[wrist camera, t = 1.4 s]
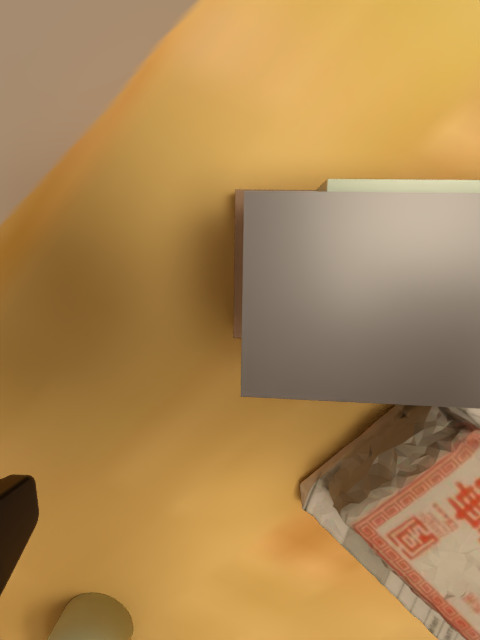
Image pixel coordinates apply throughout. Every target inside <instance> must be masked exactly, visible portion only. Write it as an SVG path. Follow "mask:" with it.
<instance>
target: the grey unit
mask: <svg viewBox="0 0 480 640" xmlns="http://www.w3.org/2000/svg"><path fill="white" fill-rule="evenodd" d="M234 338H242V355H241V397H260V398H279V399H299V400H319V401H338V402H358V403H378V404H398V405H417V406H437V407H457V408H476V409H480V180H402V179H327V180H326V181H325V182H324V183H323V184H322V185H321V186H320V187H319V188H318V189H317V190H235V260H234Z"/></svg>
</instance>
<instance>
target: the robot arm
mask: <svg viewBox="0 0 480 640" xmlns="http://www.w3.org/2000/svg"><path fill="white" fill-rule="evenodd" d="M38 517H39V508H38V499H37V491H36V483H35V480H34V478H33V477H32V476H30V475H15V474H14V475H9V476H7V477H5V478H2V479H0V595H1V594H2V592H3V590H4V588H5V586H6V584H7V582H8V580H9V578H10V576H11V574H12V572H13V570H14V568H15V566H16V564H17V562H18V560H19V558H20V556H21V554H22V552H23V550H24V548H25V546H26V544H27V542H28V540H29V538H30V536H31V534H32V532H33V530H34V528H35V526H36V524H37V521H38Z"/></svg>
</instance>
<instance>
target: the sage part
mask: <svg viewBox="0 0 480 640" xmlns="http://www.w3.org/2000/svg"><path fill="white" fill-rule="evenodd" d="M132 634H133V622H132V618H131V616H130V614H129V612H128V611H127V609H126V608H125V607H124V606H123V605H122V604H121V603H120V602H118V601H117V600H115V599H114V598H112V597H110V596H107V595H105V594H101V593H84V594H81V595H78V596H76V597H74V598H73V599H72V600H71V601H69V603H68V604H67V605H66V607H65V609H64V611H63V612H62V614H61V616H60V618H59V619H58V621H57V623H56V625H55V627H54V628H53V630H52V632H51V634H50V635H49V637H48V639H47V640H131V637H132Z"/></svg>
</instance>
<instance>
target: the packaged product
mask: <svg viewBox="0 0 480 640" xmlns="http://www.w3.org/2000/svg"><path fill="white" fill-rule="evenodd" d="M300 494H301V502H302V509H303V510H305V511H306V512H308V513H309V514H311V515H312V516H314V517H315V519H316V520H317V521H318V522H319V524H320V525H321V526H322V527H323V528H325V529H326V530H327V531H328V532H329V533H330V534H331V535H332V536H333V537H334V538H335V539H336V540H337V541H338V542H339V543H340V544H341V545H342V546H343V547H344V548H345V549H346V550H347V551H348V552H349V553H351V554H352V555H353V556H354V557H355V558H356V559H357V560H358V561H359V562H360V563H361V564H362V565H363V566H364V567H365V568H366V569H367V570H368V571H369V572H370V573H371V574H373V575H374V576H375V577H376V578H377V580H378V581H379V582H380V583H381V584H382V585H383V586H385V587H386V588H387V589H388V590H389V591H390V592H391V593H392V594H393V595H394V596H395V597H396V598H397V599H398V600H399V601H400V602H401V603H402V604H403V606H404V607H405V608H406V609H407V610H408V611H409V612H410V613H411V614H412V615H413V616H415V617H416V618H417V619H419V620H420V621H421V622H422V623H423V624H424V625H425V627H426V628H427V629H428V630H429V631H430V632H431V633H432V634H433V635H434V636H435V637H436V638H438V639H439V640H480V409H476V408H457V407H437V406H417V405H398V404H397V405H395V406H394V407H393V408H392V409H390V410H389V411H388V412H387V413H385V414H384V415H383V416H382V417H380V418H379V419H378V420H377V421H376V422H374V423H373V424H372V425H371V426H370V427H369V428H368V429H367V430H366V431H364V432H363V433H362V434H361V435H360V436H359V437H357V438H356V439H355V440H353V441H352V442H351V443H349V444H348V445H347V446H345V447H344V448H343V449H341V450H340V451H339V452H338V453H337V454H335V455H334V456H333V457H332V458H331V459H329V460H328V461H327V462H326V463H324V464H323V465H322V466H321V467H320V468H318V469H317V470H316V471H315V472H314V473H312V474H311V475H310V476H309V477H308V478H306V479H305V480H304V481H303V482H301V483H300Z"/></svg>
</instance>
